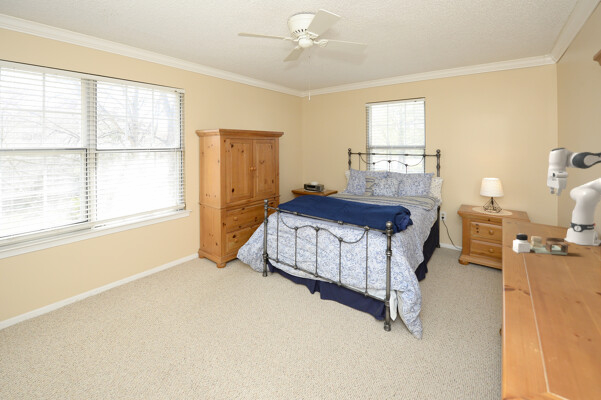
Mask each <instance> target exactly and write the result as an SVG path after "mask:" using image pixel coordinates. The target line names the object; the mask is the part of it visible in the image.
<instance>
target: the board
mask: <svg viewBox="0 0 601 400" xmlns="http://www.w3.org/2000/svg"><path fill="white" fill-rule="evenodd" d="M545 247H546V244H542V245H541V247H533V246H532V245H531V243H530V250H532V251H533V252H534V253H535V254H545V255H562V256H563V255H564V256H566V255H568V253H564V252H563V251H562V250H561V246H559V245H552V253H551V252H548V251H547V250H546V249H545Z"/></svg>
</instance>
